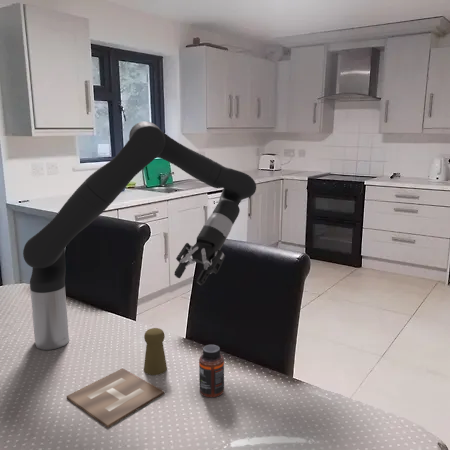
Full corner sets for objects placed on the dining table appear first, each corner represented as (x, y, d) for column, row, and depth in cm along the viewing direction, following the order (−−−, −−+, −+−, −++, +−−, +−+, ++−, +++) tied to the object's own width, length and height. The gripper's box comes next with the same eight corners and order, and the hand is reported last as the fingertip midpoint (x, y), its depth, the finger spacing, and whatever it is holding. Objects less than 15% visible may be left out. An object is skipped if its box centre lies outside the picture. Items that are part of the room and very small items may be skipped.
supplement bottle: (227, 387, 106) (227, 344, 104) (219, 401, 101) (219, 356, 98) (204, 382, 108) (204, 340, 106) (195, 395, 103) (195, 352, 100)
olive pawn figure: (162, 376, 111) (161, 336, 108) (140, 373, 112) (138, 334, 109) (170, 364, 116) (169, 326, 114) (148, 361, 118) (147, 324, 115)
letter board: (66, 398, 101) (66, 395, 101) (122, 370, 113) (122, 368, 113) (107, 427, 91) (107, 425, 91) (164, 393, 103) (164, 391, 103)
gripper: (190, 221, 127) (162, 268, 121) (228, 228, 118) (199, 278, 112) (203, 235, 132) (176, 281, 126) (240, 243, 123) (213, 292, 117)
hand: (187, 280), depth 119 cm, fingers open, 8 cm apart
